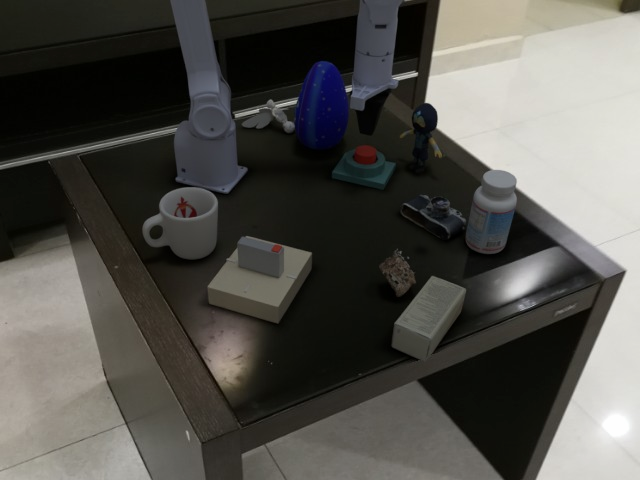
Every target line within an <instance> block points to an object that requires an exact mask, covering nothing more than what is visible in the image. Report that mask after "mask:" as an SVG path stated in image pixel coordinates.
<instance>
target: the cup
mask: <svg viewBox="0 0 640 480" xmlns="http://www.w3.org/2000/svg"><path fill="white" fill-rule="evenodd" d="M158 209H159V213H158V214H156V215H153V216H151V217H149V218H147V219H146V220H145V221H144V223H143V224H142V235H143V238H144V240H145V242H146V243H147V245H148V246H150V247H152V248H161V247H165V246H167V247H168V246H169V247H170V249H171V251H172V252H173V254H174V255H176V256H178V257H179V258H181V259H183V260H184V259H185V260H199V259H204V258H205V257H208V256H209V255H211V253H212V252H214V250H215V248H216V246H217V241H218V218H219V213H218V212H219V200H218V198H217V197H216V195H215V194H214V193H213V192H211V190H208V189H204V188H200V187H196V186H187V187H186V186H185V187H180V188H176V189H173V190H171V191H169V192H168V193H166V194H165V195H163V196H162V198H161V199H160V201H159V203H158ZM155 226H160V227H161V228H162V233H161V236H160V237H159V238H156V239H154V238H152V237H151V235H150V233H151V232H150V231H151V229H152V228H154V227H155Z"/></svg>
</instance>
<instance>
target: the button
mask: <svg viewBox="0 0 640 480" xmlns="http://www.w3.org/2000/svg"><path fill="white" fill-rule="evenodd" d="M354 149H355V155H354V161H355V162H357V163H359V164H363V165H370V164H373V163H375V162H376V155H377V151H378V150H377V149H376V148H375V147H374V146H372V145H366V144H364V145H359V146H356V147H355V148H354ZM376 150H377V151H376Z"/></svg>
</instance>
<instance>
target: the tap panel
mask: <svg viewBox="0 0 640 480" xmlns="http://www.w3.org/2000/svg"><path fill="white" fill-rule="evenodd" d="M245 237H247V238H250V239H254V240H258V241H262V242H265V243H269V244H273V245H275V244H276V245H280V246H282V247H284V272H283V273H282V275H281V276H280V278H278V277H275V276H271V275H267V274H264V273H260V272H257V271H253V270H249V269H246V268H242V267H239V265H238V249H237V248H236V249H235V250H234V251H233V252H232V254H231V255H230V256H229V258H228V257H227V258H226V259H225V260H226V262H225V263H224V264H223V266H222V267H221V268H220V269H219V271H218V272H217V273H216V275H215V276H214V277H213V278H212V280H211V281H210V282H209V283H208V285H207V286H206V289H207V299H208V304H209V305H213V306H215V307H219V308H223V309H226V310H230V311H232V312H236V313H240V314H243V315H246V316H251V317H252V318H253V317H254V318H257V319H260V320H264V321H267V322H270V323H274V324H279V323H280V322H281V319H282V318H283V317H284V315H285V314H286V312H287V311H288V309H289V307H290V305H291V303H292V302H293V301H294V299H295V297H296V295H297V294H298V293H299V291H300V289H301V287H302V286H303V284H304V282H305V281H306V279H307V278H308V276H309V274H310V273H311V271H312V270H313V269H312V267H313V266H312V265H313V252H311V251H306V250H303V249H299V248H295V247H291V246H287V245H285V244H284V245H283V244H280V243H276V242H272V241H269V240H265V239H261V238H257V237H253V236H249V235H246V236H245Z"/></svg>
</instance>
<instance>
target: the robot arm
mask: <svg viewBox="0 0 640 480" xmlns="http://www.w3.org/2000/svg"><path fill="white" fill-rule="evenodd" d="M169 1H170V2H169V3H170V6H171V10H172V15H173V18H174V24H175V27H176V32H177V35H178V41H179V44H180V49H181V54H182V57H183V62H184V64H185V65H184V66H185V70H186V75H187V84H188V94H189V99H190V107H189V108H190V109H189V114H188V120H183V121H181V122H180V123H179V124H178V126H177V128H176V130H175V133H174V138H173V149H174V158H175V165H176V174H177V176H176V177H175V182H176V183H178V184H179V183H180V184H183V185H187V186H188V185H189V186H191V187H196V188H202V189H205V190H207V191H213V192H216V193H221V194H224V195H227V194H229V193H230V192H232V190H233V188H235V186H236V185H237V184H238V183H239V182H240V180H241V179H243V177H244V176H245V175H246V174H247V172H248V171H249V168H248V167H246V166H242V165H238V149H237V145H238V144H237V131H236V130H237V129H236V127H237V126H236V122H235V120H234V119H233V118H232V110H231V107H232V106H231V100H232V91H231V87H230V85H229V83H228V82H227V81H226V80H225V79H224V77H223V74H222V70H221V67H220V64H219V62H218V57H217V53H216V52H217V51H216V48H215V43H214V37H213V33H212V28H211V23H210V22H211V21H210V17H209V13H208V7H207V1H206V0H169ZM403 1H404V0H359V8H358V9H359V10H358V15H357V21H356V22H357V23H356V37H355V47H354V49H355V50H354V63H353V66H354V67H353V73H352V75H351V90H350V92H349V100H350V101H349V109H351V110H354V111H355V114H356V119H357V126H358V131H359V134H361V135H365V136H371V137H372V136H373V135H374V133H375V132H376V129H377V126H378V124H379V120H380V117H381V114H382V110H383V108H384V105H385V103H386V101H387V99H388V97H389V96H390V95H391V93H392V90H394V89H396V88H397V87H398V86H399V80H398V79H396V78H394V77H393V76H392V75H393V64H394V55H395V48H396V47H395V46H396V37H397V30H398V21H399V19H398V12H399V7H400V6H401V4H402V3H403Z"/></svg>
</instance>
